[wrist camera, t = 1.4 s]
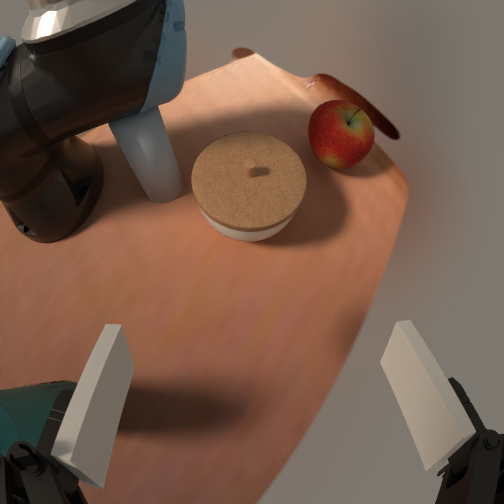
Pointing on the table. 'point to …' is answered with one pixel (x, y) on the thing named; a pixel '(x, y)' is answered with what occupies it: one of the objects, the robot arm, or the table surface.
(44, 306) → the table surface
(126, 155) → the post
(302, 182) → the lidded jar
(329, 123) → the apple
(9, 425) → the beverage bottle
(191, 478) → the table surface
